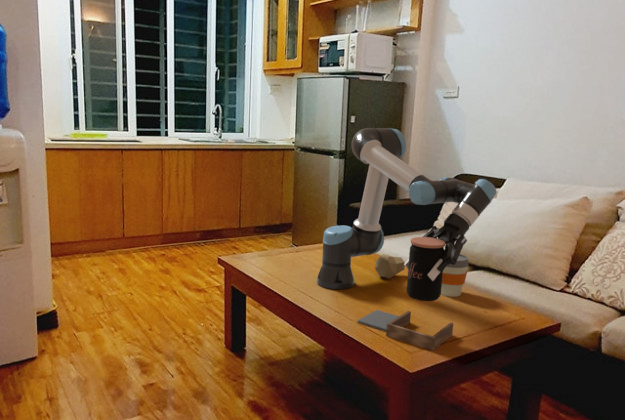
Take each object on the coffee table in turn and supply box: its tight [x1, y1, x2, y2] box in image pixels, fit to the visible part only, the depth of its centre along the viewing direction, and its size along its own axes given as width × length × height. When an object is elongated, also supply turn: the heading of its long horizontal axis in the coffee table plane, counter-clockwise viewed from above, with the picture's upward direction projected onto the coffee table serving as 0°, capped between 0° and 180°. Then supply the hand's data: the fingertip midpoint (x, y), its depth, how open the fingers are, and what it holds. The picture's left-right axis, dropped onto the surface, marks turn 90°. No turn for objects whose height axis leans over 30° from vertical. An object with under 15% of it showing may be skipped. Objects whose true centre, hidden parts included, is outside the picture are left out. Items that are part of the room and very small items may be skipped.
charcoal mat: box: [356, 309, 400, 332], centre depth 180 cm, size 12×13×1 cm
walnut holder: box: [385, 310, 454, 351], centre depth 170 cm, size 16×15×4 cm
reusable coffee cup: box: [440, 253, 469, 298], centre depth 211 cm, size 12×13×15 cm
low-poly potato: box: [374, 254, 406, 280], centre depth 229 cm, size 15×11×12 cm
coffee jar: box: [406, 236, 446, 302], centre depth 166 cm, size 11×11×18 cm
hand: (418, 272), depth 165 cm, fingers closed on coffee jar, 11 cm apart
